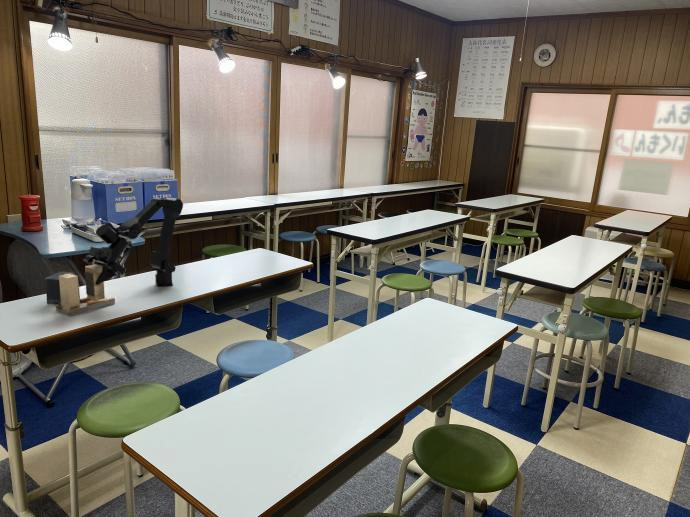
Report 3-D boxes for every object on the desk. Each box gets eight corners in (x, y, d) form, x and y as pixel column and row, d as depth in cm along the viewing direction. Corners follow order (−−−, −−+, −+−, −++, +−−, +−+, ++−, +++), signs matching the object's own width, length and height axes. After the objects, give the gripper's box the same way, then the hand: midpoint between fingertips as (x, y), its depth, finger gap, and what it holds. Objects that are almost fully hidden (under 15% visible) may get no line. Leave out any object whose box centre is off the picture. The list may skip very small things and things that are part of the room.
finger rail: (100, 298, 205) (98, 265, 202) (115, 303, 201) (113, 269, 197) (56, 311, 189) (52, 275, 186) (71, 316, 185) (68, 279, 182)
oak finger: (96, 295, 201) (94, 264, 198) (104, 298, 199) (102, 266, 195) (85, 298, 197) (83, 266, 194) (94, 301, 195) (91, 269, 192)
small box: (62, 305, 196) (60, 279, 193) (46, 304, 196) (43, 278, 193) (77, 296, 206) (75, 272, 203) (61, 295, 206) (59, 271, 203)
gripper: (86, 235, 200) (61, 267, 193) (117, 242, 191) (92, 276, 185) (105, 251, 209) (82, 282, 202) (135, 258, 200) (113, 291, 193)
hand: (91, 283), depth 195 cm, fingers closed on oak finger, 5 cm apart
